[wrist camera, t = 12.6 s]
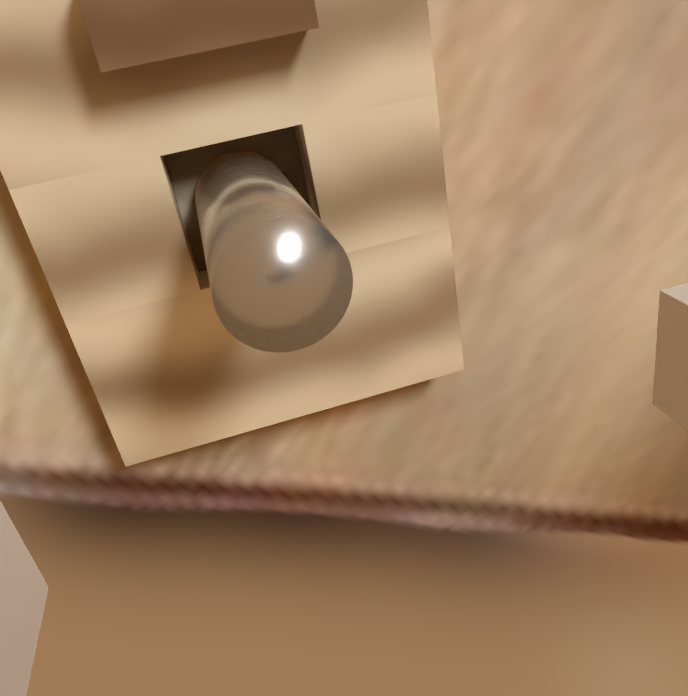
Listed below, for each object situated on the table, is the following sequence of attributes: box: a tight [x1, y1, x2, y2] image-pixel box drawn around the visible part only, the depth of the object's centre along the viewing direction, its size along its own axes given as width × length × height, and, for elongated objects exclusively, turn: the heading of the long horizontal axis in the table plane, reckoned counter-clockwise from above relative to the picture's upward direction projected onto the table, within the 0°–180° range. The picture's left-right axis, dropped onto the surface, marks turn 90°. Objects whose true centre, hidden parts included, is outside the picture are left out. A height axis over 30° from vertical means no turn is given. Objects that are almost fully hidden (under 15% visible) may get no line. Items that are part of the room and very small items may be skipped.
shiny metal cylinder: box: [195, 151, 353, 353], centre depth 25 cm, size 4×4×12 cm
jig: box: [0, 0, 464, 466], centre depth 29 cm, size 22×18×4 cm
